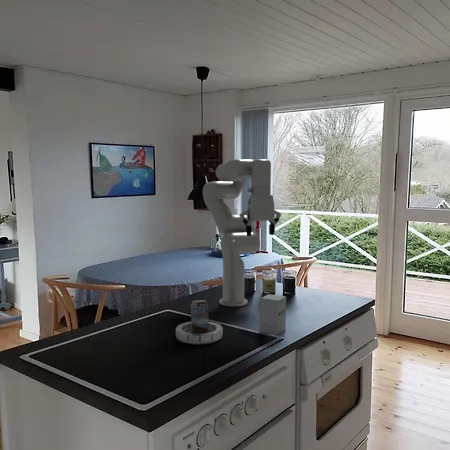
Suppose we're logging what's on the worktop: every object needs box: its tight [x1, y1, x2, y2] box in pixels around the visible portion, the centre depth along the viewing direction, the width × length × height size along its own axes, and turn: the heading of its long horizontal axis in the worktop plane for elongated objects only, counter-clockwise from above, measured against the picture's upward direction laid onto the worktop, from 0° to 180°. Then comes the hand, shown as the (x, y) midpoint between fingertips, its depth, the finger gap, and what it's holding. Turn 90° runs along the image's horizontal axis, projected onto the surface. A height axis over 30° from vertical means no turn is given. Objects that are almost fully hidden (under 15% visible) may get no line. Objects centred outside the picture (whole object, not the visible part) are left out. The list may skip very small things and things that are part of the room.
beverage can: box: [190, 299, 209, 334], centre depth 160 cm, size 6×7×12 cm
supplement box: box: [259, 294, 287, 336], centre depth 166 cm, size 7×7×13 cm
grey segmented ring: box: [175, 320, 224, 345], centre depth 160 cm, size 16×16×3 cm
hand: (260, 235), depth 179 cm, fingers open, 9 cm apart
